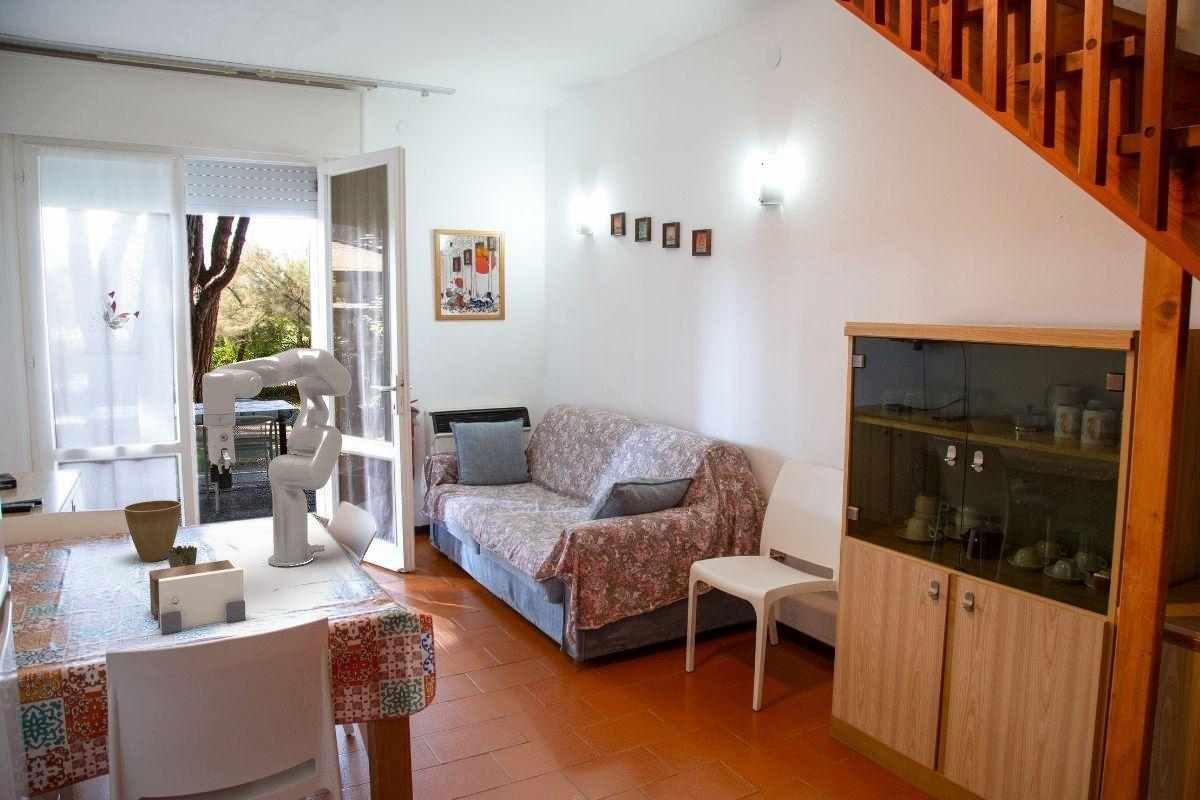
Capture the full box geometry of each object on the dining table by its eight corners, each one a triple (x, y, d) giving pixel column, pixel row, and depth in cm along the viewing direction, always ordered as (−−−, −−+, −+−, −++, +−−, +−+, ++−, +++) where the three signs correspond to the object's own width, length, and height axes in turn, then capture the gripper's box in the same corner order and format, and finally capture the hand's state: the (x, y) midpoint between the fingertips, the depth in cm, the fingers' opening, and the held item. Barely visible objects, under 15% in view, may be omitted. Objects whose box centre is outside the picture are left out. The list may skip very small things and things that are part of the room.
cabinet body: (228, 597, 221) (227, 559, 220) (235, 606, 215) (234, 568, 214) (150, 610, 211) (149, 570, 210) (155, 620, 205) (154, 579, 204)
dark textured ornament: (185, 582, 233) (184, 553, 232) (161, 580, 234) (160, 551, 233) (203, 574, 240) (203, 546, 239) (180, 571, 241) (179, 544, 240)
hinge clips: (239, 612, 211) (239, 594, 211) (245, 619, 206) (245, 601, 206) (158, 626, 201) (157, 607, 200) (162, 634, 196) (161, 615, 196)
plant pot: (191, 551, 261) (190, 499, 259) (168, 566, 246) (166, 511, 245) (141, 550, 261) (139, 499, 259) (115, 565, 246) (113, 510, 244)
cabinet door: (242, 615, 210) (241, 567, 208) (244, 618, 207) (243, 570, 206) (160, 629, 200) (158, 579, 198) (162, 633, 197) (160, 582, 196)
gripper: (242, 423, 216) (244, 490, 218) (227, 415, 231) (229, 478, 232) (210, 425, 212) (212, 493, 214) (197, 416, 226) (199, 480, 228)
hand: (221, 485), depth 223 cm, fingers open, 9 cm apart
